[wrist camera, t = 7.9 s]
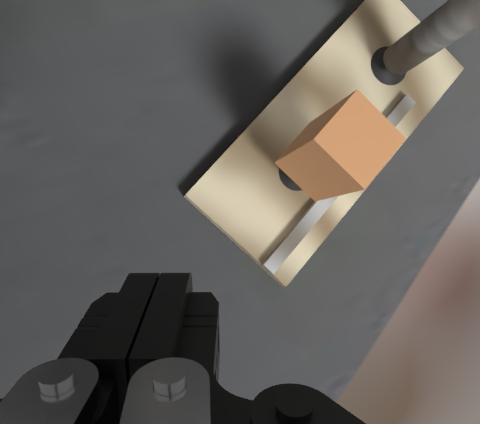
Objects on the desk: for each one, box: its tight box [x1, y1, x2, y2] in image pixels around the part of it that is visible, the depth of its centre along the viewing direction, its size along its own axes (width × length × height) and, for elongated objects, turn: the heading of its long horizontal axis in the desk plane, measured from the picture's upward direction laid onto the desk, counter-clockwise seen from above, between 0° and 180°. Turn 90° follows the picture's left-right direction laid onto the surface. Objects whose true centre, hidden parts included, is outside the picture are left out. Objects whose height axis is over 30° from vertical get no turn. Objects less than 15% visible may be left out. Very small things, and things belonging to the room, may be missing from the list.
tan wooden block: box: [274, 89, 406, 201], centre depth 29 cm, size 4×4×9 cm
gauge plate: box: [184, 0, 480, 287], centre depth 31 cm, size 24×10×10 cm, turn 138°
